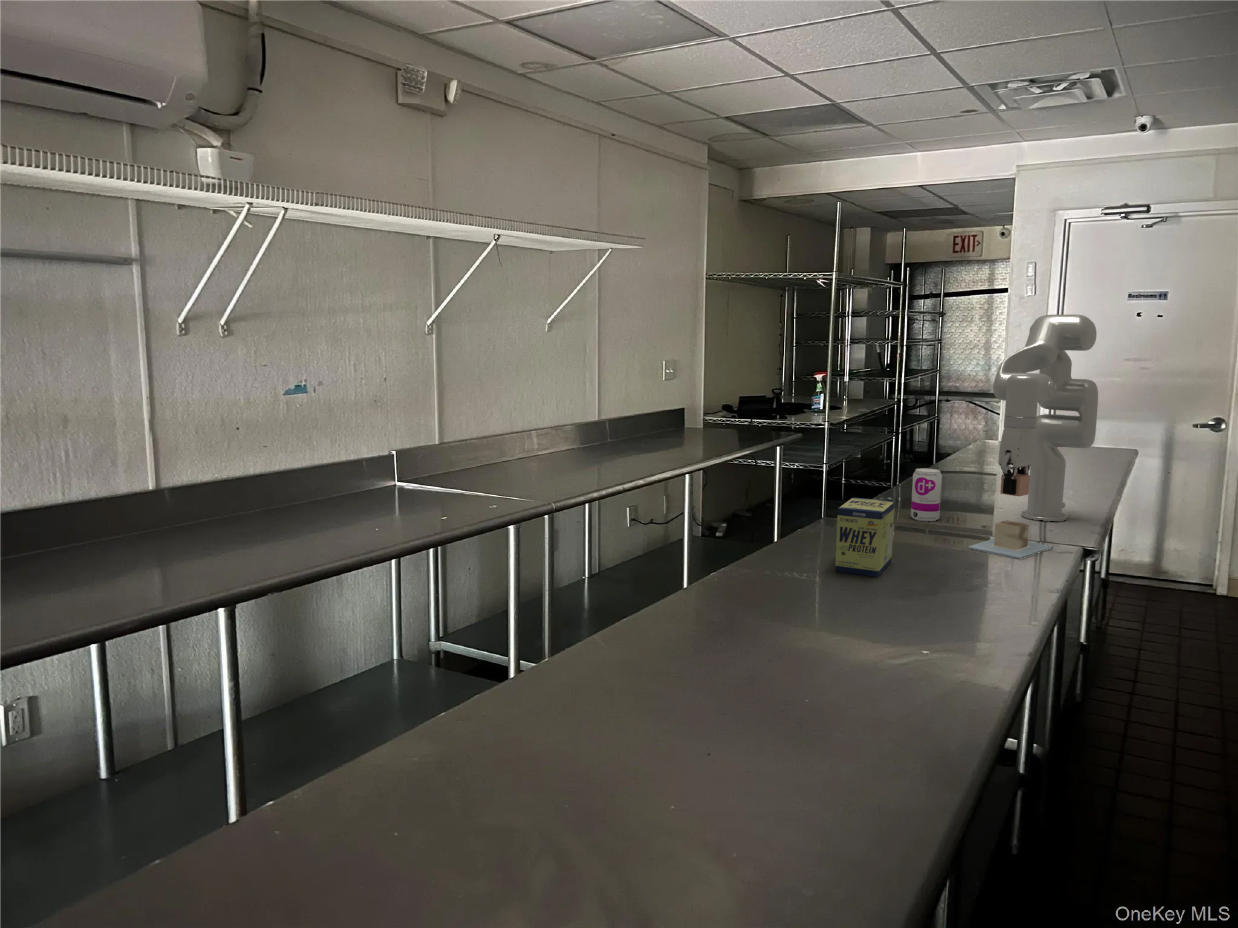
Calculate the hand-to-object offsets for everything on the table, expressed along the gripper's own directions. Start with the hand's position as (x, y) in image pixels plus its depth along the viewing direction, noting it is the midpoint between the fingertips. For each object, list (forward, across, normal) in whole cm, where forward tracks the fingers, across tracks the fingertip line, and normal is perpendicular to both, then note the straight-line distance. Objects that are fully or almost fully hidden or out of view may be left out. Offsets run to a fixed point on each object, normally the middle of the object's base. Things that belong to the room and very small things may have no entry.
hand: (1014, 492), depth 230 cm
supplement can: (+15, -15, -34) cm, 40 cm away
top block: (+1, 0, 0) cm, 1 cm away
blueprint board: (+15, 0, 0) cm, 15 cm away
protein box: (+16, +45, -14) cm, 49 cm away
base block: (+14, 0, 0) cm, 14 cm away
